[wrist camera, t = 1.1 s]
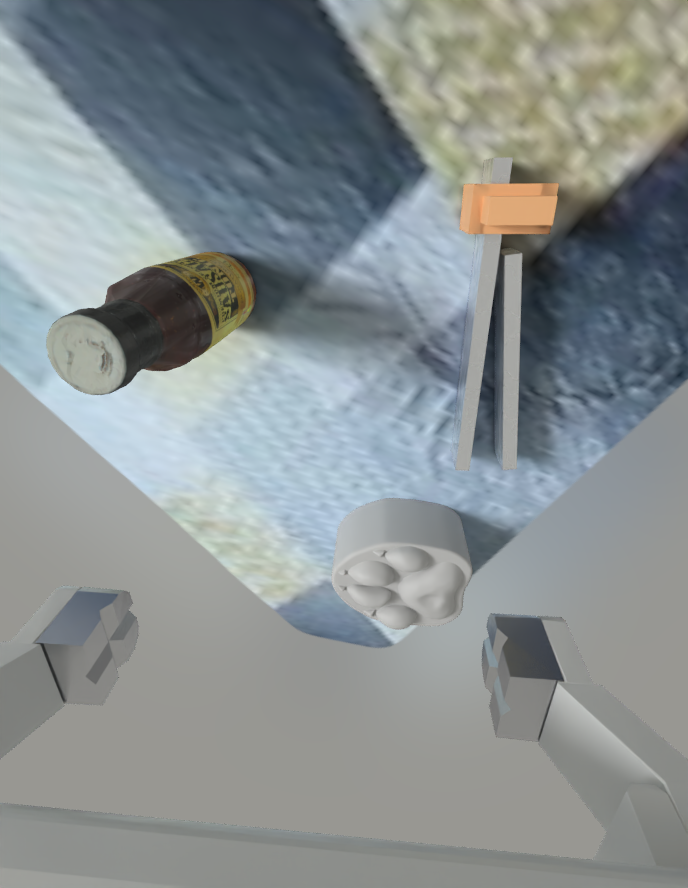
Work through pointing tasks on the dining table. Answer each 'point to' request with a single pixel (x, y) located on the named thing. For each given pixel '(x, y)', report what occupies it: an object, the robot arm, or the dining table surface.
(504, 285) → the bar
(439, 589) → the lumpy-topped squat cylinder
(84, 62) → the dining table surface
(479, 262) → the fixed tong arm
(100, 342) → the sauce bottle
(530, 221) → the collar
